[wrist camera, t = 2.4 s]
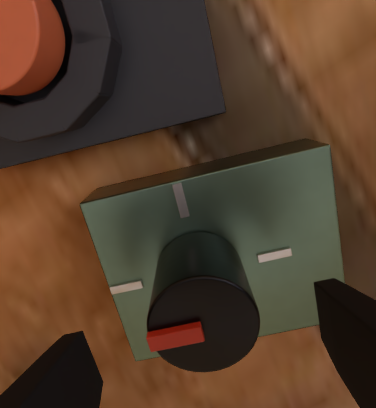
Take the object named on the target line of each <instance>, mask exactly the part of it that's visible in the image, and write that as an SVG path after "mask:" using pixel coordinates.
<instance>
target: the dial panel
mask: <svg viewBox="0 0 376 408" xmlns="http://www.w3.org/2000/svg"><path fill="white" fill-rule="evenodd" d="M80 207H81V210H82V213H83V216H84V219H85V221H86V224H87V227H88V230H89V232H90V235H91V238H92V241H93V244H94V246H95V249H96V252H97V255H98V258H99V260H100V263H101V266H102V269H103V272H104V274H105V277H106V280H107V283H108V286H109V288H110V291H111V294H112V297H113V299H114V302H115V305H116V308H117V311H118V313H119V316H120V319H121V322H122V325H123V327H124V330H125V333H126V336H127V339H128V341H129V344H130V347H131V350H132V353H133V355H134V358H135V361H141V360H146V359H151V358H156V357H161V356H160V355H159V354H158V353H157V351H155V352H151V351H150V348H149V345H148V342H147V339H146V337H147V325H146V324H147V315H148V310H149V304H150V299H151V294H152V289H153V283H154V278H155V273H156V268H157V263H158V260H159V257H160V255H161V253H162V251H163V250H164V249H165V247H166V246H167V245H168V244H169V243H171V242H172V241H173V240H175V239H176V238H178V237H180V236H182V235H185V234H189V233H194V232H206V233H211V234H214V235H217V236H220V237H222V238H223V239H225V240H226V241H228V242H229V243H230V244H231V245H232V246H233V247H234V248H235V250H236V251H237V253H238V255H239V257H240V259H241V262H242V265H243V268H244V270H245V273H246V276H247V279H248V282H249V285H250V287H251V290H252V293H253V296H254V299H255V301H256V304H257V307H258V310H259V314H260V330H259V335H258V337H261V336H266V335H271V334H276V333H281V332H286V331H291V330H296V329H301V328H306V327H311V326H316V325H319V318H318V311H317V304H316V297H315V290H314V283H313V282H317V281H321V280H326V279H331V278H335V279H337V280H339V281H341V282H343V283H345V279H344V270H343V260H342V251H341V242H340V232H339V223H338V214H337V204H336V195H335V186H334V177H333V167H332V158H331V149H330V145H329V144H326V143H322V142H318V141H314V140H310V139H302V140H297V141H293V142H289V143H285V144H281V145H276V146H272V147H268V148H264V149H260V150H256V151H251V152H247V153H243V154H239V155H235V156H231V157H226V158H222V159H218V160H214V161H210V162H206V163H201V164H197V165H193V166H189V167H185V168H181V169H176V170H172V171H168V172H164V173H160V174H155V175H151V176H147V177H143V178H139V179H135V180H130V181H126V182H122V183H118V184H114V185H110V186H105V187H101V188H97V189H96V190H95V191H94V192H92V193H91V194H90V195H89V196H88V197H87V198H86V199H85V200H83V201H82V202H81V203H80Z"/></svg>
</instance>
